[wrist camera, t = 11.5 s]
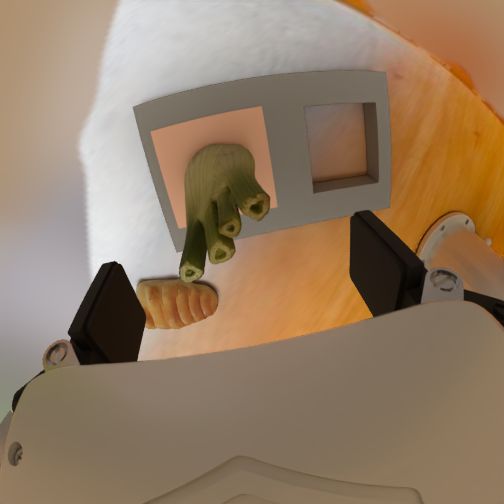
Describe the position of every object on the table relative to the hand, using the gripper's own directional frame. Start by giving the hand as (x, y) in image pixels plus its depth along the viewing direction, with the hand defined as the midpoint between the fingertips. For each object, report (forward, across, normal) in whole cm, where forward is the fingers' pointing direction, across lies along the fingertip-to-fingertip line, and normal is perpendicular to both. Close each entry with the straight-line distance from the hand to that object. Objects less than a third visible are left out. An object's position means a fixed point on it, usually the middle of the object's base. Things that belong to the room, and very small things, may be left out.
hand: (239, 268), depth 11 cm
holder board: (+17, -4, -1) cm, 17 cm away
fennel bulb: (+14, +1, 0) cm, 14 cm away
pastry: (+17, +10, +14) cm, 24 cm away
